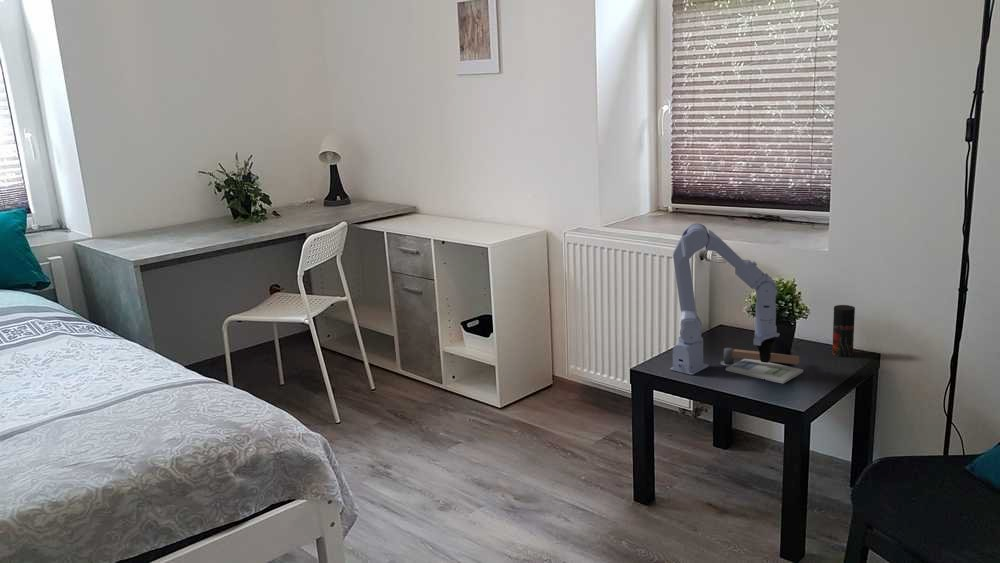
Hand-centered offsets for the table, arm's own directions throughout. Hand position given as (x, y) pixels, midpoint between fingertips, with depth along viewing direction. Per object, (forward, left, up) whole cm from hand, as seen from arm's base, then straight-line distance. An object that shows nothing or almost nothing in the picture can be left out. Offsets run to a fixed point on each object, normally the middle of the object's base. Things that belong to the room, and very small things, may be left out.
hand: (765, 361), depth 245 cm
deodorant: (+26, -12, -3) cm, 29 cm away
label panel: (-2, +2, -2) cm, 4 cm away
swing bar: (+1, +2, -2) cm, 3 cm away
